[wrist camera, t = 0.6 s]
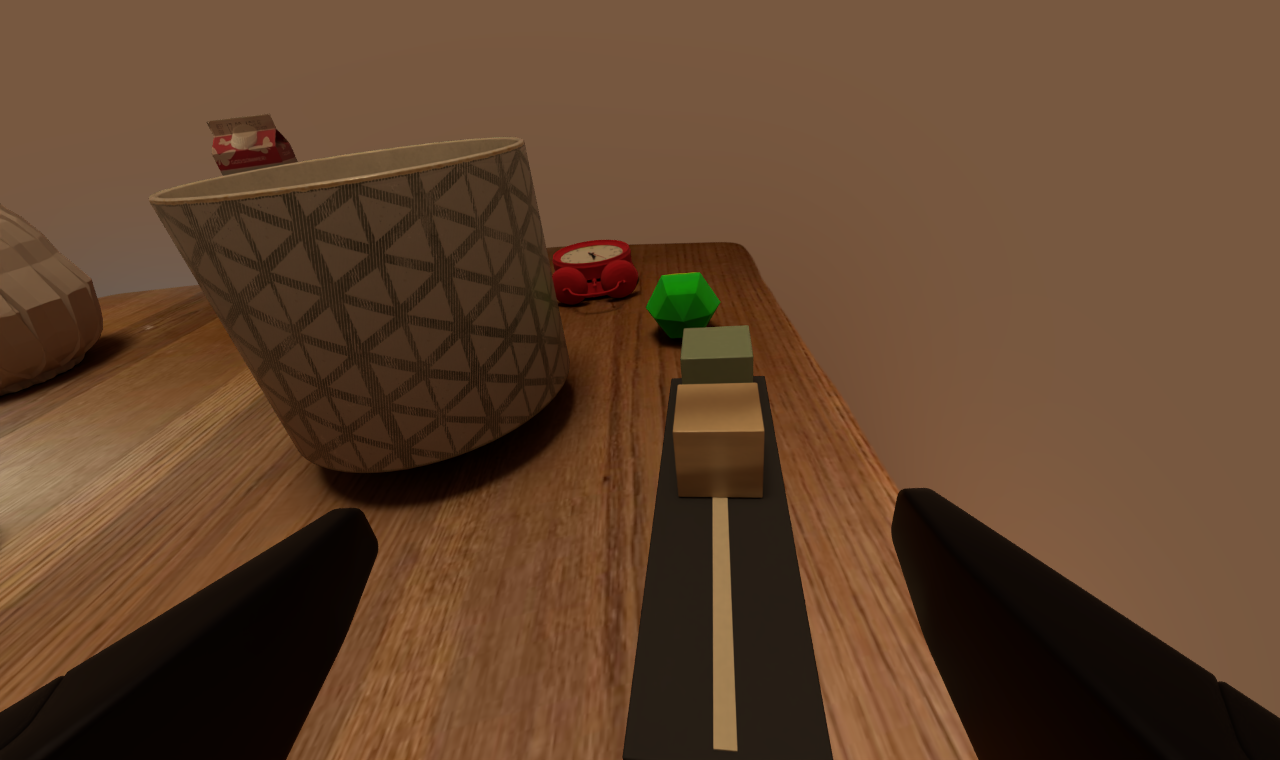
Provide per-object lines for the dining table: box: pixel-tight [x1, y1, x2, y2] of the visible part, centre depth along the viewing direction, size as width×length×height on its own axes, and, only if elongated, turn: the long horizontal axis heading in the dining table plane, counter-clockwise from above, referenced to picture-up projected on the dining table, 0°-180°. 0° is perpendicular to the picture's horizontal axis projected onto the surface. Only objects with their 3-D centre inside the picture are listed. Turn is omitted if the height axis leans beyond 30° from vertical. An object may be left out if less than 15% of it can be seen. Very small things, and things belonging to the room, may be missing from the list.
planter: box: [149, 137, 569, 473], centre depth 33 cm, size 19×19×18 cm
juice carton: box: [207, 114, 298, 176], centre depth 65 cm, size 7×7×22 cm
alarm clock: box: [552, 240, 638, 305], centre depth 57 cm, size 10×6×15 cm
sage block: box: [680, 326, 753, 385], centre depth 34 cm, size 4×4×4 cm
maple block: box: [673, 383, 765, 498], centre depth 27 cm, size 4×4×4 cm
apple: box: [646, 272, 720, 339], centre depth 45 cm, size 7×6×9 cm
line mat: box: [623, 376, 833, 760], centre depth 27 cm, size 25×7×1 cm, turn 173°
